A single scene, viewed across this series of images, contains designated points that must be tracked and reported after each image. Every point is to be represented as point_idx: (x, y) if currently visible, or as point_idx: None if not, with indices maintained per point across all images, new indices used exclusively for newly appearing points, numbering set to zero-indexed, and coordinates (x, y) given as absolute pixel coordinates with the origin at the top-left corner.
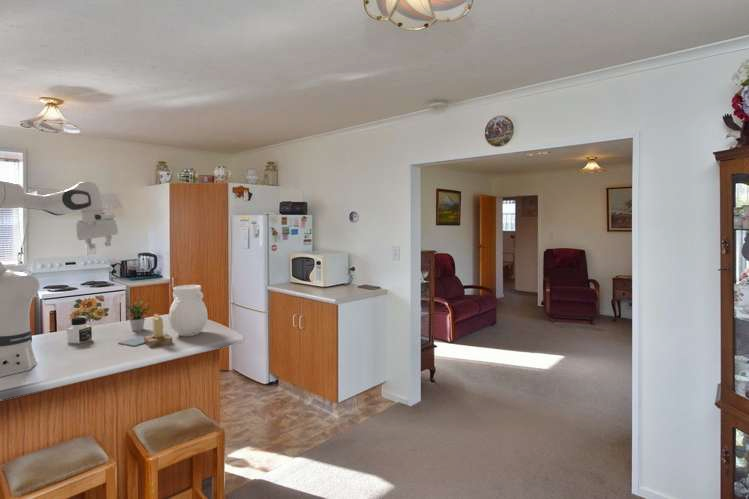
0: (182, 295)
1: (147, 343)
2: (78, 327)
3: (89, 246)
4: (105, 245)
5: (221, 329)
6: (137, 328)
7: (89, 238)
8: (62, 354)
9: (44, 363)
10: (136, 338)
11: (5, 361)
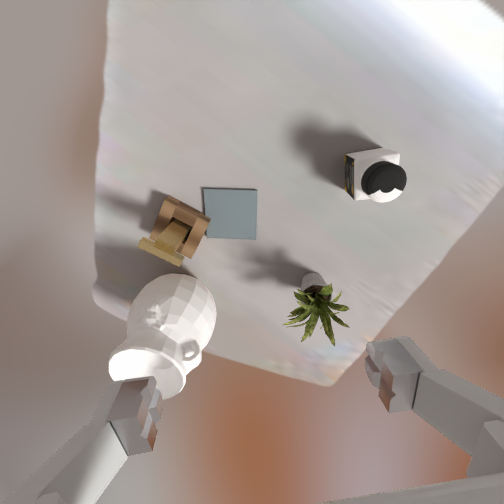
0: (136, 337)
1: (183, 205)
2: (366, 167)
3: (412, 355)
4: (145, 380)
5: None
6: (305, 278)
7: (448, 483)
8: (306, 69)
9: None
10: (247, 228)
11: None
